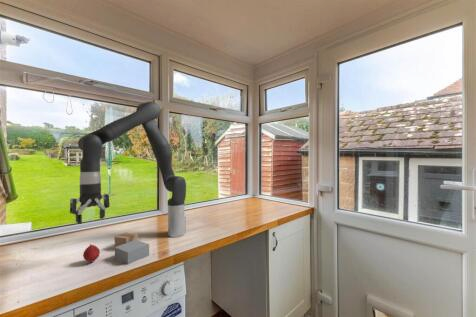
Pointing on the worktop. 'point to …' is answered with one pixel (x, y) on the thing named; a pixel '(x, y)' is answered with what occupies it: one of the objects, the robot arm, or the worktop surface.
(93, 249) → the onion
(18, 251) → the worktop surface
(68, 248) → the worktop surface
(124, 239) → the walnut block
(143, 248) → the grey block
